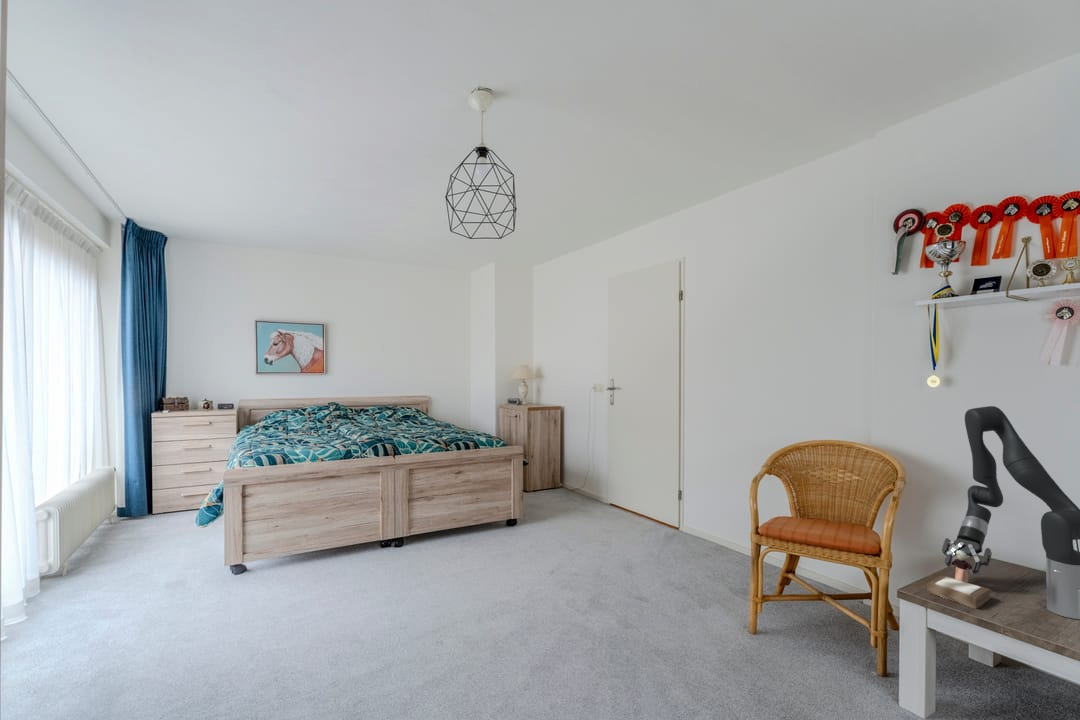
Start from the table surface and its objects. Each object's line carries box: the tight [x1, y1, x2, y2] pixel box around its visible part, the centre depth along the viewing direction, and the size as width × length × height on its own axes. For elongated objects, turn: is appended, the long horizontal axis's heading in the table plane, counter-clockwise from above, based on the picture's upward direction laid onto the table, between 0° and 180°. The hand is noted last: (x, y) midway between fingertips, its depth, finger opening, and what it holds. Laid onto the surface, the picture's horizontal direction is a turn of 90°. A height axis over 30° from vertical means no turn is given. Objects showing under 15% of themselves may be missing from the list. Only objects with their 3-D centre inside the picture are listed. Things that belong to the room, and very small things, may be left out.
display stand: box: [926, 575, 991, 610], centre depth 182 cm, size 14×12×4 cm
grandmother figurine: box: [950, 550, 975, 583], centre depth 191 cm, size 8×4×13 cm, turn 37°
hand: (960, 568), depth 190 cm, fingers closed on grandmother figurine, 7 cm apart
